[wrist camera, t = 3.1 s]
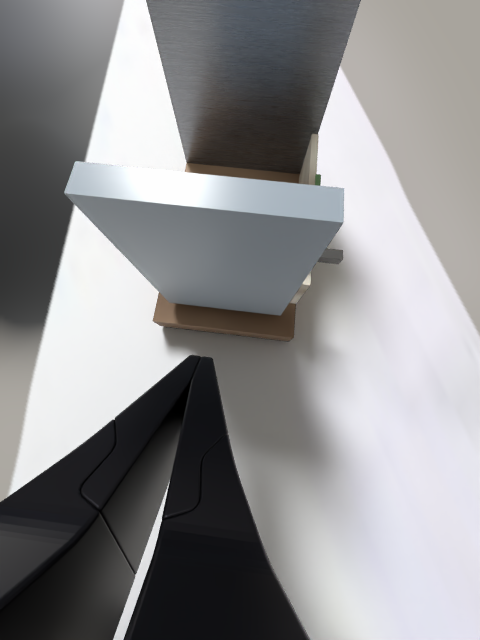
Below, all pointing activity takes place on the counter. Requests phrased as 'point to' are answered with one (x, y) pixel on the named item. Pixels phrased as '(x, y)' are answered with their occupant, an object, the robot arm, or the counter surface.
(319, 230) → the pale blue shelf board
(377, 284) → the counter surface
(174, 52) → the brushed steel plate
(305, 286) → the gauge frame
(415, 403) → the counter surface
